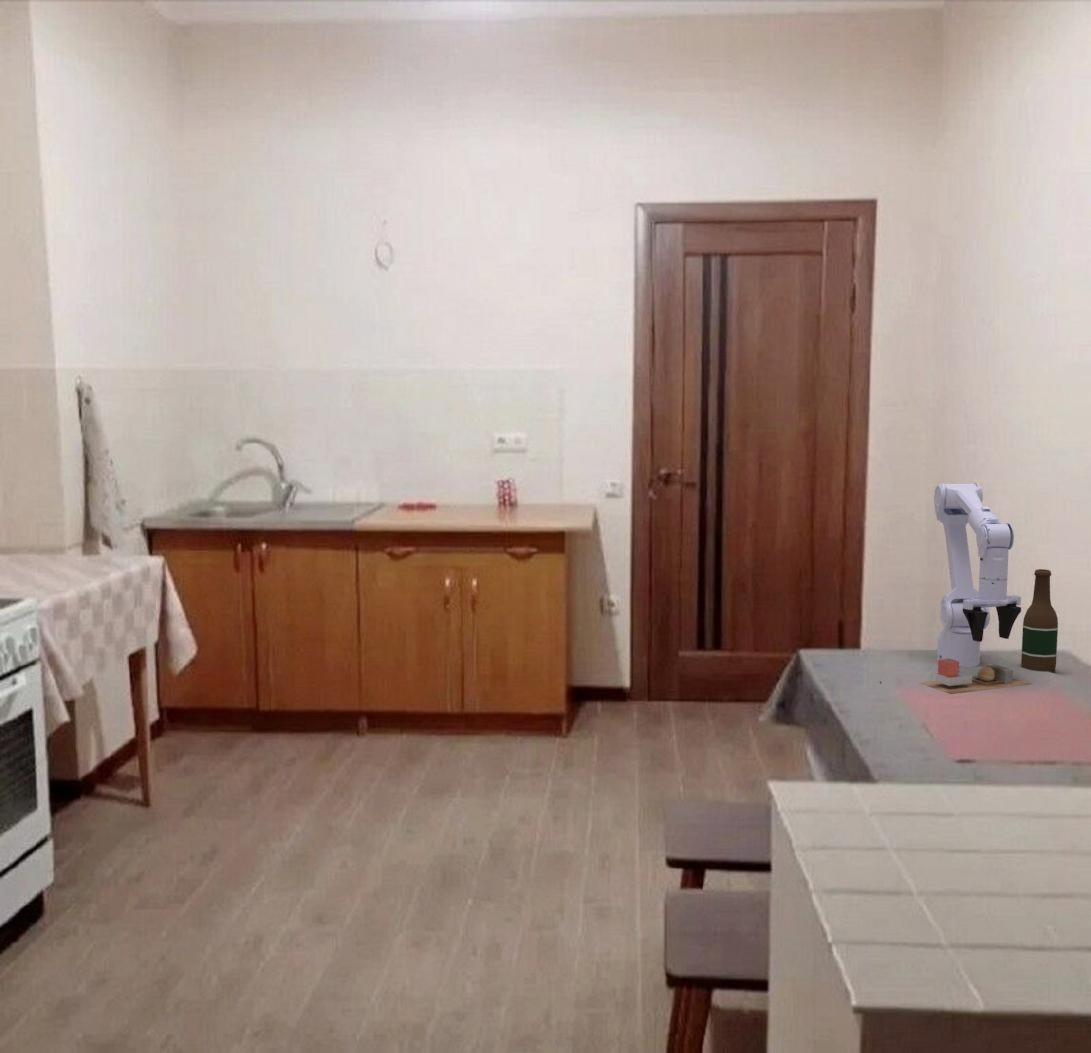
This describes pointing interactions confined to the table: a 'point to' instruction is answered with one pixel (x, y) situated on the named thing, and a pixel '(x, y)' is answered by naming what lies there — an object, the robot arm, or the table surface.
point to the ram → (951, 673)
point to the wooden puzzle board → (981, 682)
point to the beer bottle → (1040, 628)
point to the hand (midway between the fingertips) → (990, 639)
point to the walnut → (986, 674)
